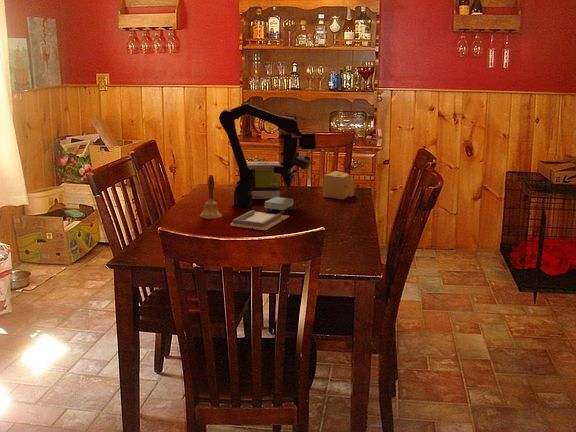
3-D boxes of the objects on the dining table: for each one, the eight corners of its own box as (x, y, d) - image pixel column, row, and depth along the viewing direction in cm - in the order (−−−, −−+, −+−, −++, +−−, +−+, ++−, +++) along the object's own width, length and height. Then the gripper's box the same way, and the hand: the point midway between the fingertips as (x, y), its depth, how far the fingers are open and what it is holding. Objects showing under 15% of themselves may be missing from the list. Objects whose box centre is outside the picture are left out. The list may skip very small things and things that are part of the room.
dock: (230, 225, 252) (230, 219, 252) (256, 212, 272) (256, 206, 271) (265, 230, 247) (265, 223, 246) (289, 216, 267) (289, 210, 266)
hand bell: (225, 214, 268) (225, 174, 264) (216, 219, 260) (215, 177, 256) (205, 212, 270) (205, 172, 266) (196, 217, 262) (195, 176, 259)
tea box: (279, 194, 305) (279, 161, 301) (279, 199, 295) (280, 165, 292) (244, 194, 304) (245, 160, 301) (244, 199, 295) (244, 164, 291)
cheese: (354, 195, 305) (355, 173, 303) (342, 200, 296) (343, 177, 294) (333, 192, 310) (334, 170, 308) (321, 197, 302) (322, 174, 299)
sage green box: (264, 212, 272) (264, 201, 271) (274, 207, 281) (274, 196, 279) (283, 215, 269) (283, 204, 268) (293, 209, 278) (293, 198, 277)
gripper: (299, 154, 267) (298, 194, 270) (316, 148, 283) (315, 185, 287) (273, 152, 271) (272, 191, 274) (291, 145, 287) (290, 183, 291)
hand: (288, 187), depth 282 cm, fingers closed
